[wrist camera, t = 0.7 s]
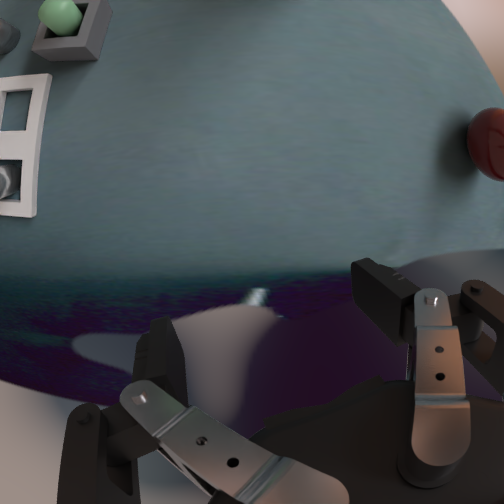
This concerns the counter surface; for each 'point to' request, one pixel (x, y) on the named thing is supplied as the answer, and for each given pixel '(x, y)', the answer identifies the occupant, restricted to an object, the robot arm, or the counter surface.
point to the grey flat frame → (25, 140)
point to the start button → (61, 17)
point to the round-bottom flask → (487, 142)
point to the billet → (8, 36)
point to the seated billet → (9, 179)
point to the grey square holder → (77, 47)
